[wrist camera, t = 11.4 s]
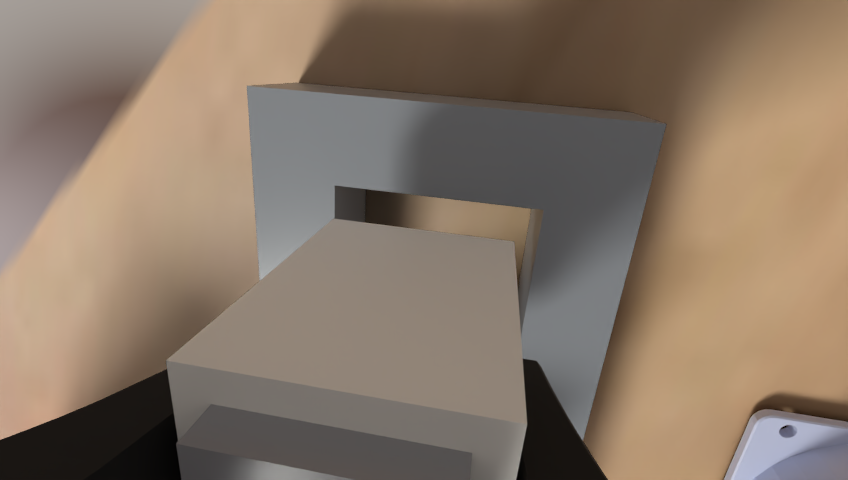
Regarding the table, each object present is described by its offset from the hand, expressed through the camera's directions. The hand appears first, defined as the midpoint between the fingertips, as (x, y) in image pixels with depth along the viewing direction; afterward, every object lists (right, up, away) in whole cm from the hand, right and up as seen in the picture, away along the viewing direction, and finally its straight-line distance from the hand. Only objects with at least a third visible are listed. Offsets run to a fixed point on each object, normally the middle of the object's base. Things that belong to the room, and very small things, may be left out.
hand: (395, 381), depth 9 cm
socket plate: (+1, 0, +8) cm, 8 cm away
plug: (0, +1, +2) cm, 2 cm away
